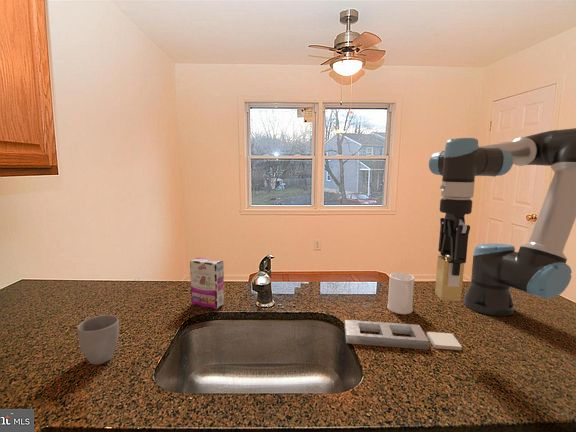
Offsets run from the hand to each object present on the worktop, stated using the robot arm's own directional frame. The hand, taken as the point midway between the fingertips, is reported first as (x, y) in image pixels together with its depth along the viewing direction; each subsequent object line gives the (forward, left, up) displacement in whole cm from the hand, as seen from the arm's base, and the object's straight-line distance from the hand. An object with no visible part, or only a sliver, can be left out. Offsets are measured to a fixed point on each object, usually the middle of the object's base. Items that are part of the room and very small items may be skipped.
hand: (448, 282), depth 85 cm
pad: (0, 0, -18) cm, 18 cm away
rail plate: (+16, 0, -18) cm, 24 cm away
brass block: (0, 0, -4) cm, 4 cm away
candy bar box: (+75, -14, -18) cm, 79 cm away
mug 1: (+90, +19, -18) cm, 94 cm away
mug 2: (+7, -19, -18) cm, 27 cm away
